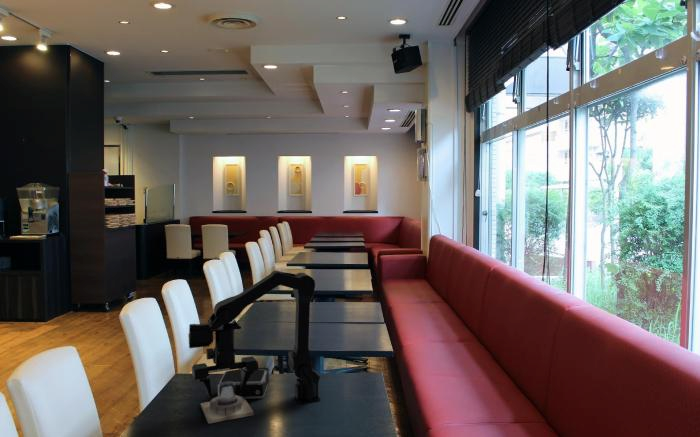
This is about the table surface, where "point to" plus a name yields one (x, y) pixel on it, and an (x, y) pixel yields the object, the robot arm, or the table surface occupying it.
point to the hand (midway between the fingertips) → (226, 395)
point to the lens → (226, 393)
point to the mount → (226, 410)
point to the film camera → (249, 382)
